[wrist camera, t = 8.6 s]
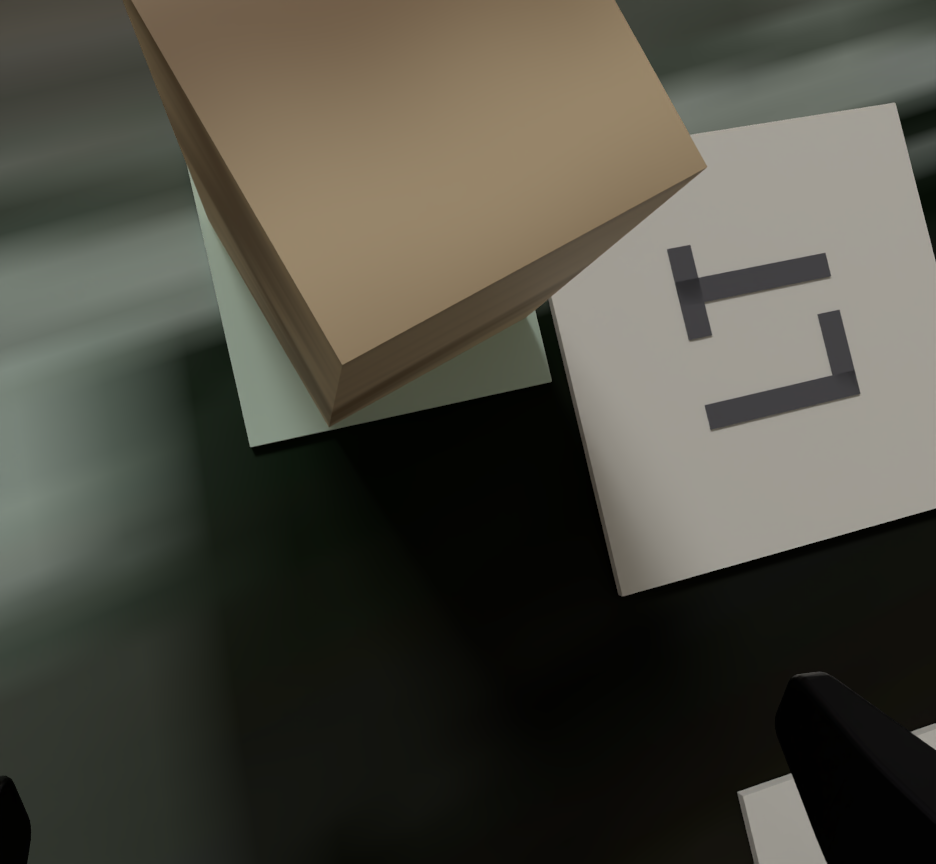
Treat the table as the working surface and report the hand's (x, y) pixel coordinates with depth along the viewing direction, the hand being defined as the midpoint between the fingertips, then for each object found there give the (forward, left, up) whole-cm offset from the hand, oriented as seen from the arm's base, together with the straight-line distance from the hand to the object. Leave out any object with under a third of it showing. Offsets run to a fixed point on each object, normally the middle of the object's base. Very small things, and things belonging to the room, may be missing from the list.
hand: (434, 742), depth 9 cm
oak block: (+8, -2, -11) cm, 14 cm away
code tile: (+5, -12, -11) cm, 17 cm away
